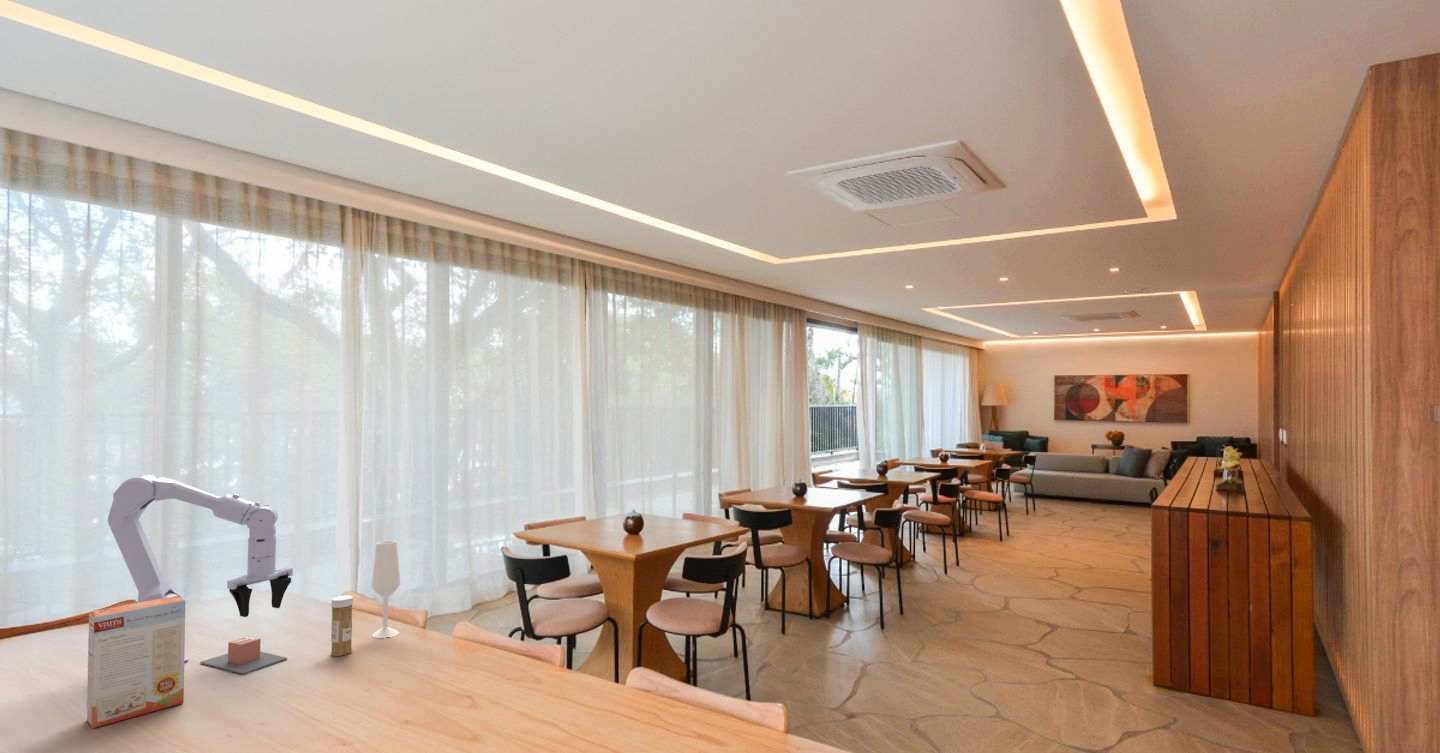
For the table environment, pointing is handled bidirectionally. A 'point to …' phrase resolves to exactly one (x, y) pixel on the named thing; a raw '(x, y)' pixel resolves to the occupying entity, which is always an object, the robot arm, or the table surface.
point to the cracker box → (135, 659)
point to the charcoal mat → (247, 667)
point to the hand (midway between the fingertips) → (260, 611)
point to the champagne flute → (386, 580)
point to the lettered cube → (244, 650)
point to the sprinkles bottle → (341, 625)
